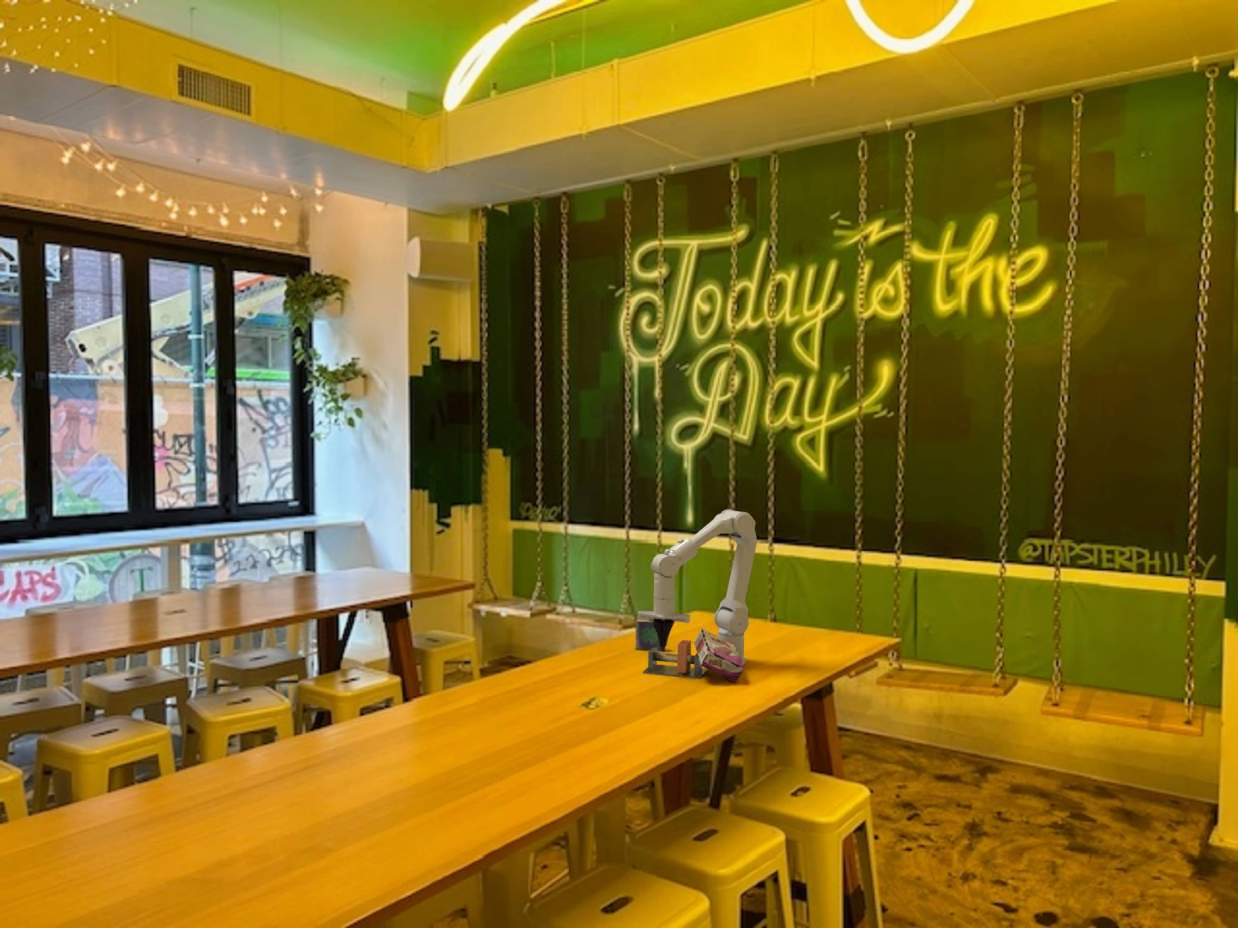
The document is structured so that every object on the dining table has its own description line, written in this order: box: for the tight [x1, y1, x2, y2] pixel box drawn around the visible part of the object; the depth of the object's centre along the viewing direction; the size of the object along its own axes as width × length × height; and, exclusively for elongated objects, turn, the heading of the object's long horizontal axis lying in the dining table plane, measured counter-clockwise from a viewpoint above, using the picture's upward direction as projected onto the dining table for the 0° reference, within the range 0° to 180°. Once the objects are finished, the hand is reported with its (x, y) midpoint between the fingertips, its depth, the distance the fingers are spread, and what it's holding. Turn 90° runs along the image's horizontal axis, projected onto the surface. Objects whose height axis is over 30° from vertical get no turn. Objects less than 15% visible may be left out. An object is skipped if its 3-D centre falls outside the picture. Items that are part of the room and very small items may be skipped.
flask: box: [635, 619, 666, 653], centre depth 282 cm, size 9×3×11 cm, turn 76°
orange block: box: [676, 639, 692, 673], centre depth 257 cm, size 6×2×8 cm, turn 163°
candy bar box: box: [693, 628, 745, 683], centre depth 254 cm, size 11×5×16 cm
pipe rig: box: [642, 648, 708, 679], centre depth 258 cm, size 9×16×6 cm, turn 73°
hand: (663, 646), depth 258 cm, fingers closed
